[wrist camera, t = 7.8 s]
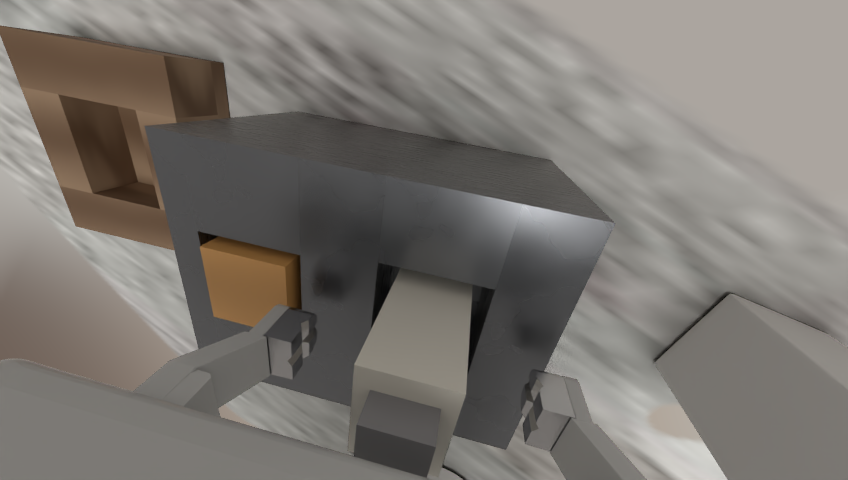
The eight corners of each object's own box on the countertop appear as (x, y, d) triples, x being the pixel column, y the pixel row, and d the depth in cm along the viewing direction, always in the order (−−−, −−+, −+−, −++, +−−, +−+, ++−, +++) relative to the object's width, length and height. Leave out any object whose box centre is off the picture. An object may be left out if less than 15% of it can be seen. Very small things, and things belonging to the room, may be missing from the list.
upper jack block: (497, 315, 24) (505, 449, 15) (302, 268, 25) (202, 365, 16) (551, 160, 18) (615, 223, 9) (298, 111, 20) (144, 125, 11)
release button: (319, 298, 16) (288, 336, 13) (255, 282, 16) (213, 316, 14) (319, 236, 14) (284, 267, 12) (248, 220, 15) (199, 246, 12)
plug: (456, 326, 16) (433, 516, 9) (400, 313, 16) (334, 486, 9) (474, 261, 14) (463, 433, 7) (410, 247, 14) (338, 397, 7)
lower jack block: (244, 233, 24) (203, 257, 21) (133, 207, 25) (75, 226, 22) (223, 63, 19) (163, 55, 16) (83, 37, 20) (-4, 25, 16)
